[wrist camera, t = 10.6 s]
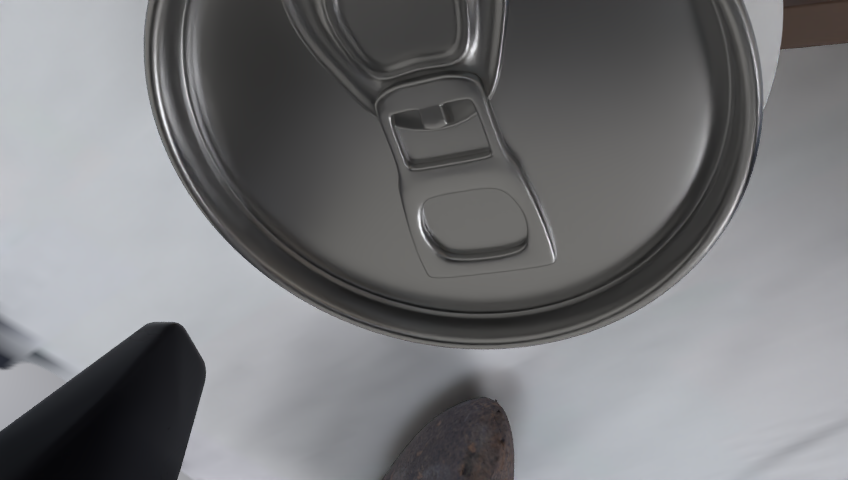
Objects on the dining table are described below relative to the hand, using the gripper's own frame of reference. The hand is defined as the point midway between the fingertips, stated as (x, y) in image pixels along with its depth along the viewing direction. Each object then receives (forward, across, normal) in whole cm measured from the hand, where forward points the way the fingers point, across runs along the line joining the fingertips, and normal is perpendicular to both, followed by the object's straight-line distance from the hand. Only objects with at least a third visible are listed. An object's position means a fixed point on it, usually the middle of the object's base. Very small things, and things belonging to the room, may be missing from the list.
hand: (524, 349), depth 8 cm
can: (+12, +1, -3) cm, 12 cm away
